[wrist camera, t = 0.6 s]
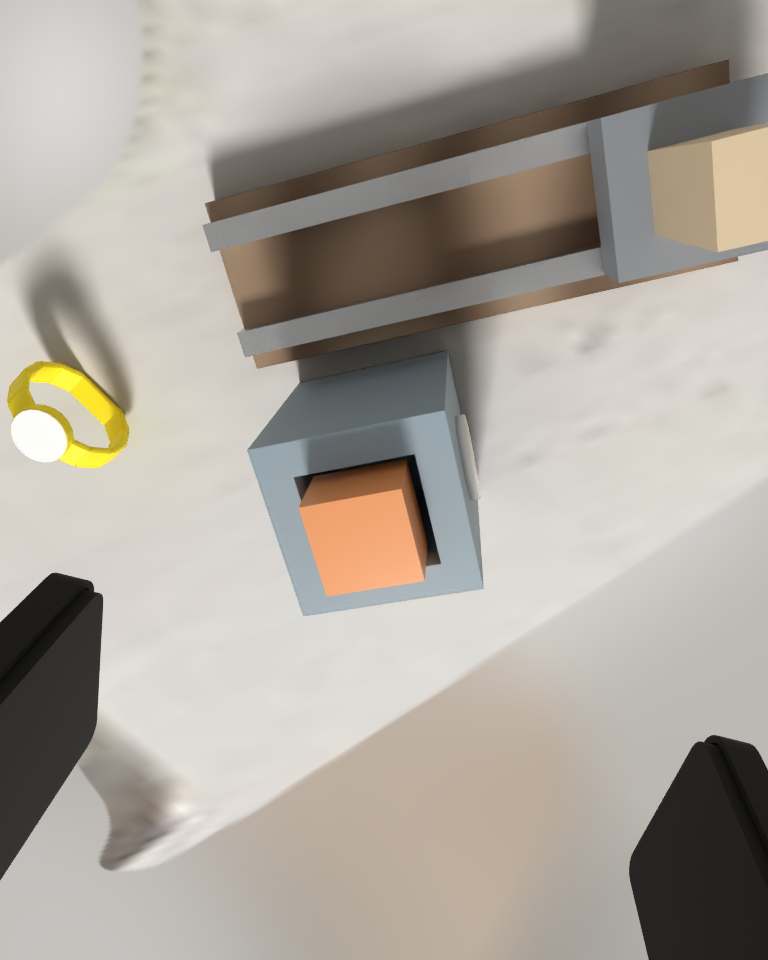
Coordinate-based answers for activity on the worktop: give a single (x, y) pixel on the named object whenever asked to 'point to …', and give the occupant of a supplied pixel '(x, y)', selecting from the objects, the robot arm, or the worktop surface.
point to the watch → (62, 418)
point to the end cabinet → (369, 441)
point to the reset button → (365, 528)
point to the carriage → (682, 180)
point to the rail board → (428, 231)
